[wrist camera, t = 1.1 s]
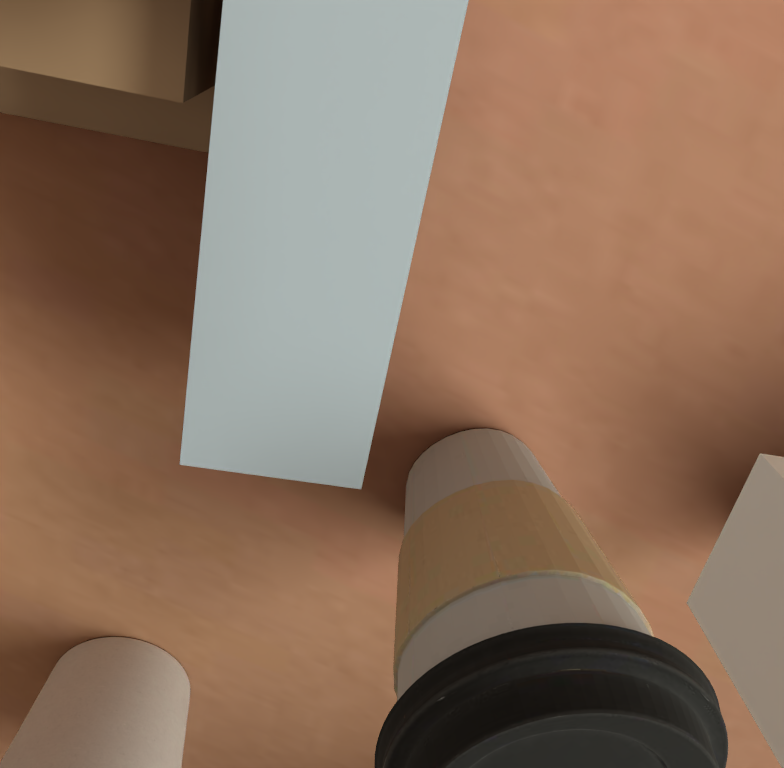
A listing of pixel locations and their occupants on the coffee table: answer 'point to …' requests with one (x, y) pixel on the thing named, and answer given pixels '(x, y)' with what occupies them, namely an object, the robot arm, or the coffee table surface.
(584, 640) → the coffee cup
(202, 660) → the coffee table surface
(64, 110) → the fulcrum
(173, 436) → the coffee table surface
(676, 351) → the coffee table surface
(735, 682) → the robot arm
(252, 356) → the beam
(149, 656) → the coffee cup
